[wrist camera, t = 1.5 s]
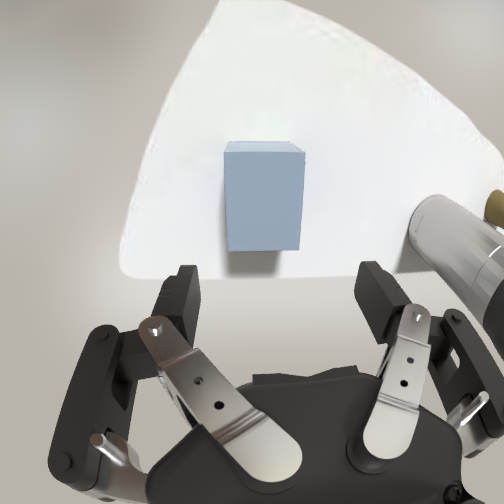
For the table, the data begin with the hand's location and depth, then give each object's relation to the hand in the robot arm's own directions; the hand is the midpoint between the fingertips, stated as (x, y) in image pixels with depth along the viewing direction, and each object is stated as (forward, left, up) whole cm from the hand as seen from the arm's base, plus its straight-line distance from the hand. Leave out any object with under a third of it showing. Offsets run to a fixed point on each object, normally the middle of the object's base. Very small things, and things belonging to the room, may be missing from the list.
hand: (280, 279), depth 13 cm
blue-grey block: (0, 0, -19) cm, 19 cm away
